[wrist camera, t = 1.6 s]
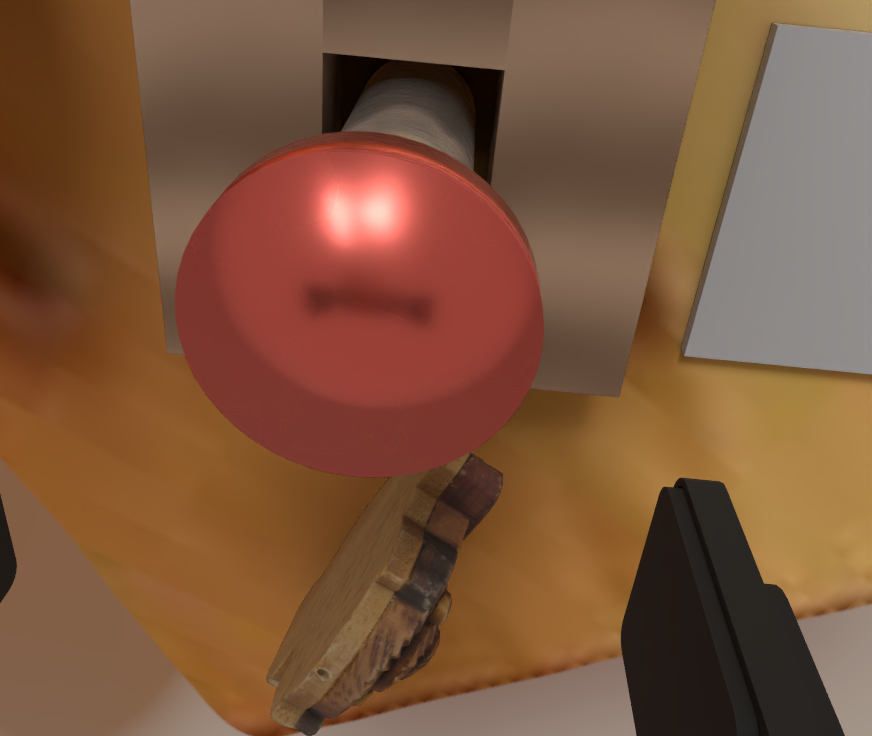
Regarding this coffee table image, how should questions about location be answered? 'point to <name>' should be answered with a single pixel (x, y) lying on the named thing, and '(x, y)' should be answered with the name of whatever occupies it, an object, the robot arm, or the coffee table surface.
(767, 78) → the mat
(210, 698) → the coffee table surface
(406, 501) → the wooden carving
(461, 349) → the peg
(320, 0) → the eye block
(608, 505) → the coffee table surface
